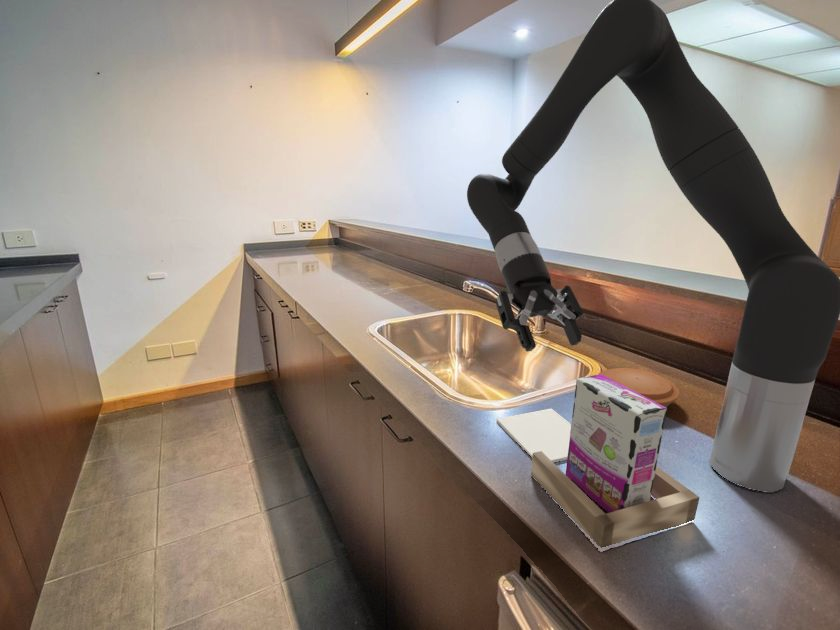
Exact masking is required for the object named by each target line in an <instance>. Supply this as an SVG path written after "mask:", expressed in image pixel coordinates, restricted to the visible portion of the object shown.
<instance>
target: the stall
mask: <svg viewBox="0 0 840 630" xmlns="http://www.w3.org/2000/svg"><path fill="white" fill-rule="evenodd" d="M530 469H531V470H530V476H531V475H532V476H533V477H534V478H535V479H536V480H537V482H538V483H539V484H540V485H541V486H542V487H543V488H544V489H545V490H546V491H547V493H549V495H550V496H551V497H552V498H553V499H554V500H555V501H556V502H557V503H558V505H560V506H561V508H563V509H564V511H565V512H566V513H567V514H568V515H569V516H570V517H571V518H572V519H573V520H574V521H575V523H577V524H578V525H579V527H580V528H582V529H583V530H584V531H585V532H586V533H587V534H588V535H589V536H590V538H591V539H593V541H594V542H596V544H597V545H598V546H600V547H601V548H602V547H606V546H609V545H612V544H616V543H620V542H622V541H626V540H629V539H631V538H635V537H639V536H642V535H646V534H649V533H653V532H657V531H660V530H664V529H668V528H671V527H676V526H679V525H681V524H684V523H687V522H689V521H692V520H694V519H696V513H697V511H698V510H697V509H698V506H699V501H700V496H699V495H697V494H696V493H695V492H694V491H693V490H691V489H689V488H688V487H686V486H685V485H684V484H682V483H681V482H679V480H677V479H675V478H674V476H673V477H672V476H671V475H670V474H668V473H667V472H665V470H663V469H662V468H660V467H659V466H658V465H656V471H655V476H654V482H653V487H652V492H651V495H652V496H653V497H654V498H656V499H655V500H654V499H652V500H651V499H650V501H648V502H645V503H641V504H638V505H634V506H631V507H628V508H624V509H621V510H617V511H614V512H610V513H606V512H605V511H604V510H603V509H601V508H600V507H599V506H598V505H597V504H596V503H595V502H594V501H593V500H591V499H590V498H589V497H588V496H587V495H586V494H585V493H584V492H583V491H582V490H581V489H580V488H579V487H578V486H577V485H576V484H574V483H573V482H572V481H571V480H570V479H569V478H568V477H567V476H566V473H565V472H563V471H562V470H561V469H560V468H559V467H558V465H556V464H555V463H553V462H552V461H551V460H550V459H549V458H548V457H547V456H546V455H545V454H544V453H543V452H542V451H539V452H535V453H533V456H532V458H531V468H530ZM532 476H531V477H532ZM533 477H532V478H533ZM537 482H536V483H537ZM538 483H537V484H538ZM539 484H538V485H539ZM540 485H539V486H540ZM541 486H540V487H541ZM542 487H541V488H542ZM547 493H546V494H547ZM549 495H548V496H549ZM550 496H549V497H550ZM558 505H557V506H558ZM694 521H695V520H694Z"/></svg>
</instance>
